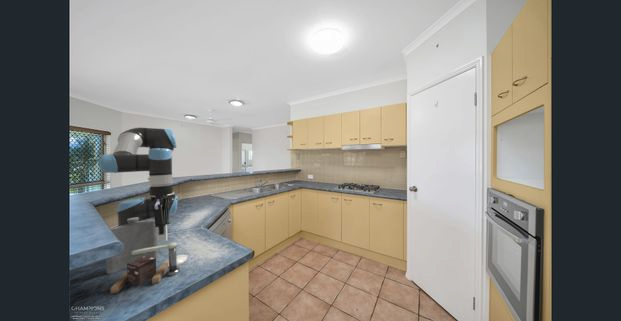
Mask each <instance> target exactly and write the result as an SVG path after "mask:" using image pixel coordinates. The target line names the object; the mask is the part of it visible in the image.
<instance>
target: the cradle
mask: <svg viewBox="0 0 621 321" xmlns="http://www.w3.org/2000/svg"><path fill="white" fill-rule="evenodd" d="M168 270H169V268H168V263H165V264H162V263H161V264H160V266H159V268H158V269H157V270H156V274H155V275H154V276H153V278H152V279H151V285H154V284H159V283H160V281H161V280H162V278H163V277H164V275H166V272H167V271H168ZM126 284H128V280H127V270H126V271H125V272H124V273H123V274H122V275H121V277H120V278H118V280H117V281H115V283H114V284H113V285H112V286H111V287H110V295H111V294H112V295H113V294H116V293H119V292H120V291H121V290H122V289H123V288H124V287H125V285H126Z"/></svg>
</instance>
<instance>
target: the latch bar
mask: <svg viewBox="0 0 621 321" xmlns="http://www.w3.org/2000/svg"><path fill="white" fill-rule="evenodd" d="M175 247H176V248H177V247H178V242H170V243H167V244H161V245H158V246H155V247H150V248H144V249H138V250H134V251H132V255H134V254H140V253H145V252H151V251H156V250H158V251H161V250H169V249H173V248H175Z"/></svg>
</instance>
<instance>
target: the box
mask: <svg viewBox="0 0 621 321" xmlns="http://www.w3.org/2000/svg"><path fill="white" fill-rule="evenodd" d="M126 269H127V270H126V271H127V280H128V282H127V284H129V285H132V286H135V287H140V286H141V285H143V284H145V283H146V282H148V281H150V280H152V278H153V276H154V275H155V274H156V272H157V259H156V258H155V257H151V256H143V257H141V258H139V259H137V260H134V261H132V262H130V263H128V264H127V268H126Z"/></svg>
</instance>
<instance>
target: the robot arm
mask: <svg viewBox="0 0 621 321" xmlns="http://www.w3.org/2000/svg"><path fill="white" fill-rule="evenodd" d="M139 148H148V149H149V150H148V154H145V153H144V154H143V153H141V154H138V151H139ZM174 149H177V141H176V136H175V132H174V131H173V130H172V129H167V128H154V127H151V128H150V127H134V128H130V129H127V130H125V131H123V132H120V134H119V136H118V137H117V144H116V147H115V149H114V150H113V152H112V153H108V154H102V155H101V156H100V158H99V169H100V171H101V172H102V173H104V174H106V173H107V174H108V173H110V174H113V173H115V174H117V173H133V172H134V173H136V172H149V174H148V175H149V177H148V178H147V180H148V181H149V184H148V185H149V187H148V188H149V196H150V198H147V197H146V196H141V197H140V196H139V197H133V198H130V199H126V200H123V201H120V202H119V203H118V204H117V210H116V212H117V225H118V226H122V225H126V224H128V222H127V219H130V218H134V217H139V220H138V221H144V220H150V219H155V227H158V243H164V242H167V241H168V225H170V222H171V221H170V217H169V216H171V215H172V216H173V215H175V214H176V211H177V207H178V199H179V197H178V195H176V193H175V192H174V188H173V183H174V182H173V181H174V180H173V159H172V158H173V154H172V153H173V152H174V151H175V150H174Z"/></svg>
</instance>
